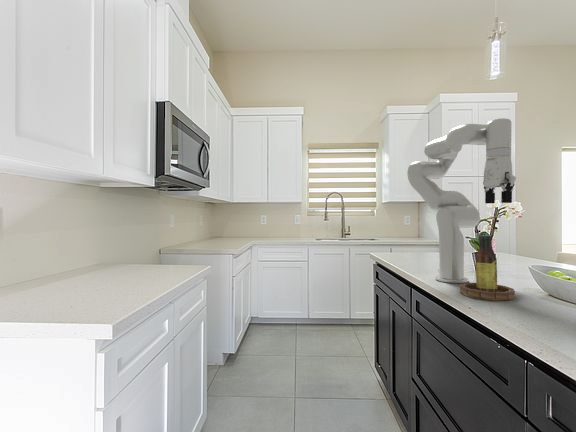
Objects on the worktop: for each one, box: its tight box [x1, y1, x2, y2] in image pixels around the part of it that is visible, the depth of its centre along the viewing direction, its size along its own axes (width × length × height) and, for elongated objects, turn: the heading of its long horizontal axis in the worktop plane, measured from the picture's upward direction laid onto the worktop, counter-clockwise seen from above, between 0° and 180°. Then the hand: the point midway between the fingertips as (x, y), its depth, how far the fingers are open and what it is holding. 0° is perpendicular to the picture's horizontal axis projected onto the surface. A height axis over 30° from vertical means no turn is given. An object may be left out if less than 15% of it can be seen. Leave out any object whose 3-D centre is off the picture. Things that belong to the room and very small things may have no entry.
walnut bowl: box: [459, 282, 516, 302], centre depth 114 cm, size 16×16×3 cm
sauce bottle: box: [475, 235, 498, 292], centre depth 113 cm, size 6×6×20 cm
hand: (497, 203), depth 116 cm, fingers open, 9 cm apart
